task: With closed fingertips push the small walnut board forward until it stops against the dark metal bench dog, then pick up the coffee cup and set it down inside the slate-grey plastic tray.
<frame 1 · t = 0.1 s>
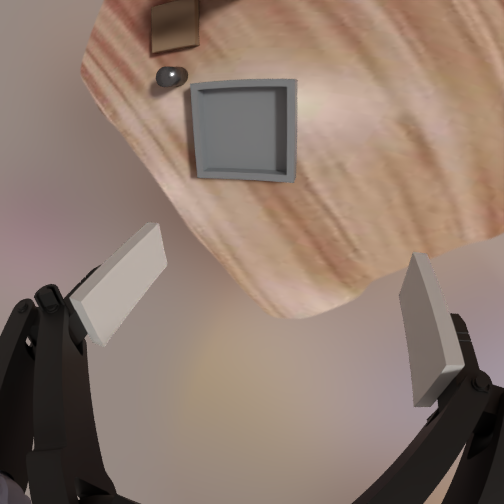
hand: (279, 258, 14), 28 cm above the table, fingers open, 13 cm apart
board: (178, 26, 31), on the table
tray: (246, 127, 38), on the table
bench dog: (178, 76, 35), on the table
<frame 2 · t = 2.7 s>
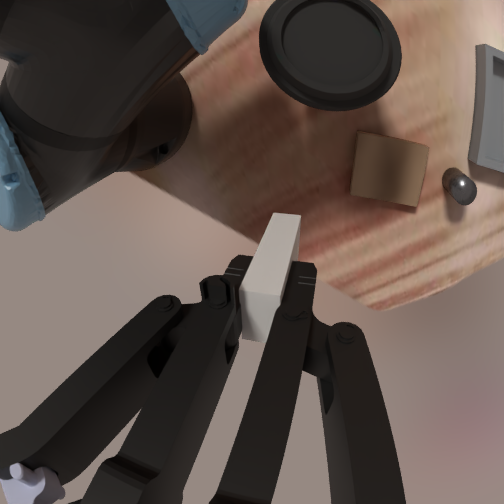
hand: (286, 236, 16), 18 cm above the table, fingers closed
board: (387, 166, 29), on the table
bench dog: (452, 179, 27), on the table
coffee cup: (329, 62, 24), on the table
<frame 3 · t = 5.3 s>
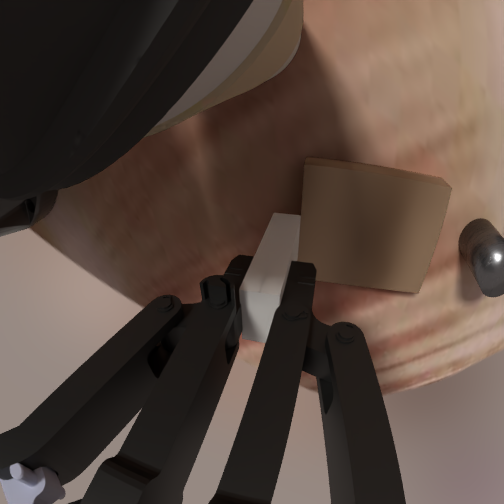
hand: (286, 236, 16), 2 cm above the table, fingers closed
board: (368, 219, 16), on the table, touching gripper
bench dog: (477, 239, 14), on the table
coffee cup: (236, 31, 12), on the table
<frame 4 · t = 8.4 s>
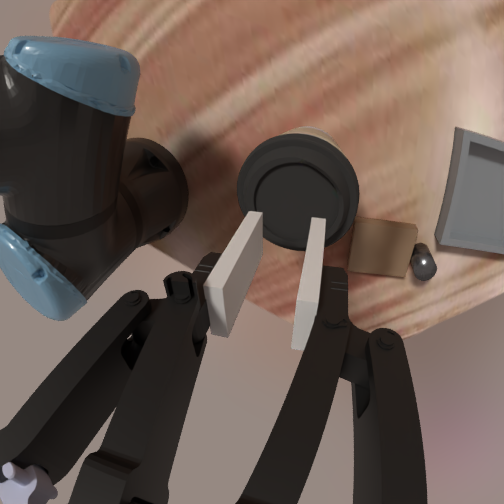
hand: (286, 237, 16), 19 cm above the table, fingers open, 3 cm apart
board: (380, 243, 35), on the table
tray: (490, 193, 26), on the table
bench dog: (418, 253, 33), on the table
coffee cup: (309, 155, 31), on the table
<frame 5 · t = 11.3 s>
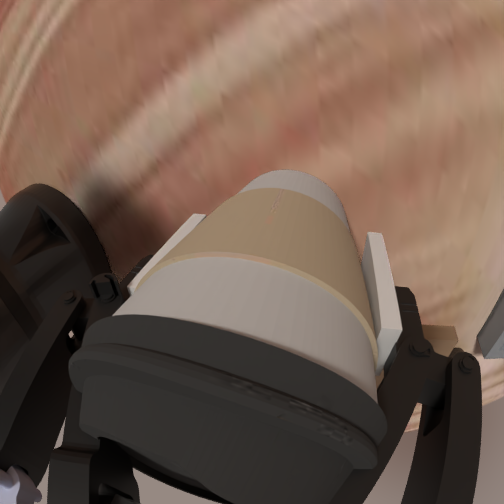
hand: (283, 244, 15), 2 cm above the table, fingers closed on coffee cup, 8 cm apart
board: (397, 348, 21), on the table
coffee cup: (290, 222, 17), on the table, touching gripper
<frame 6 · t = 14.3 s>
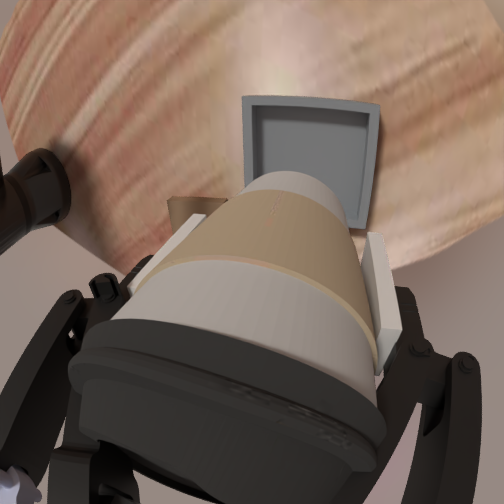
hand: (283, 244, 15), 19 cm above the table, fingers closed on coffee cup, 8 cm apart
board: (202, 219, 40), on the table
tray: (310, 157, 31), on the table
coffee cup: (290, 224, 17), point 17 cm above the table, touching gripper
when the fingers open (5 cm above the table, at t = 17.5 s): coffee cup stays where it is, resting on tray.
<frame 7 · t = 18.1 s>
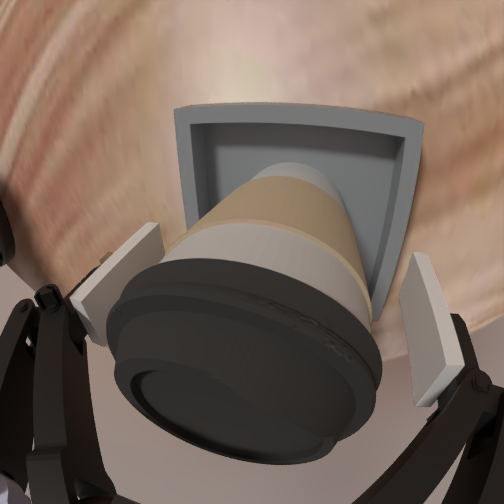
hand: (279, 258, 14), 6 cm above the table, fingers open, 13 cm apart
tray: (296, 207, 19), on the table
coffee cup: (293, 210, 19), resting on tray
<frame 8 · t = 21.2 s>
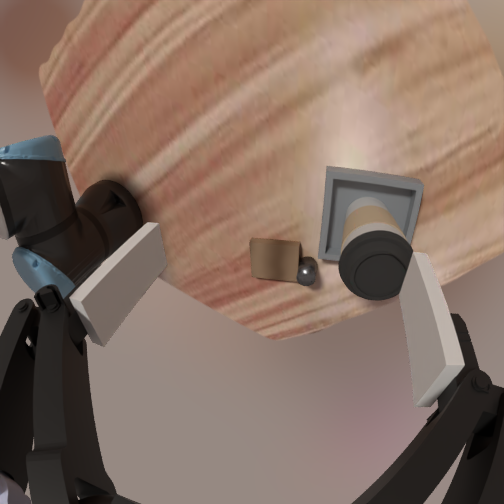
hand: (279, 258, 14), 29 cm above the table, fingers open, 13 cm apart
board: (276, 256, 50), on the table
tray: (368, 216, 41), on the table
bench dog: (308, 264, 48), on the table
coffee cup: (367, 217, 41), resting on tray
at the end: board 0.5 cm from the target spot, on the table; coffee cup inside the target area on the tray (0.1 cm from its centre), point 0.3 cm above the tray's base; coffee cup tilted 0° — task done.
